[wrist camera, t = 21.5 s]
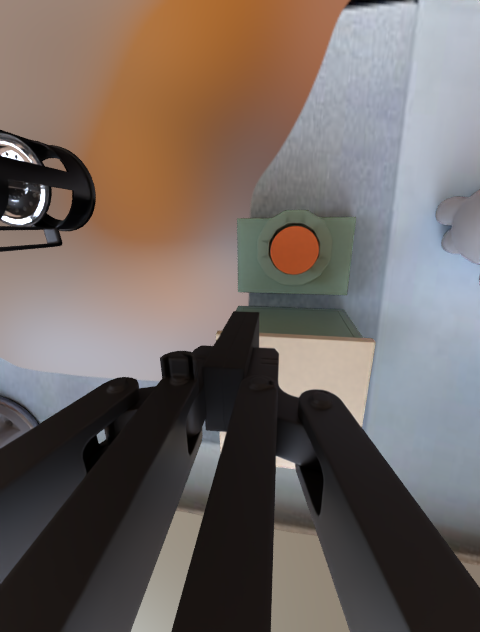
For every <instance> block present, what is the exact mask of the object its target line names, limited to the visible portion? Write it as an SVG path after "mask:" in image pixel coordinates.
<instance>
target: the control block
mask: <svg viewBox="0 0 480 632" xmlns="http://www.w3.org/2000/svg"><path fill="white" fill-rule="evenodd" d="M355 223H356V217H318V216H316V215H314V214H313V213H311V212H309V211H308V210H286V211H283V212H282V213H280V214H278V215H277V216H275V217H273V218H244V219H242V218H241V219H237V228H238V229H237V236H238V237H237V240H238V292H251V293H285V294H320V295H347V290H348V282H349V273H350V265H351V257H352V248H353V240H354V232H355ZM290 226H301V227H304V228H307V229H308V230H310V231H311V232H312V233H313V234H314V235H315V237H316V239H317V241H318V244H319V254H318V257H317V260H316V262H315V263H314V265H313V266H312V267H311V268H310V269H309V270H307V271H306V272H303V273H301V274H296V275H291V274H286V273H284V272H282V271H280V270H279V269H278V268H277V267H276V266H275V265H274V263H273V261H272V258H271V245H272V242H273V240H274V238H275V237H276V235H277V234H278V233H279V232H280V231H282V230H283V229H285V228H287V227H290Z"/></svg>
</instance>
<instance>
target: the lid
mask: <svg viewBox="0 0 480 632" xmlns="http://www.w3.org/2000/svg"><path fill="white" fill-rule="evenodd" d="M221 332H222V331H218V332H217V333H216V341H217V339H218V337H219V336H220V334H221ZM259 348H275V349H276V350H277V352H278V353H279V372H278V384H279V387H280V388H281V389H282V390H283V391H284V392H286V393H287V394H289V395H292V396H295V397H298V398H299V397H300V395H301V393H303V392H305V391H307V390H312V389H318V390H319V389H320V390H325V391H328V392H331V393H333V394H335V395H336V396H338V397H339V398H340V399H341V400H342V402H343V403H344V404H345V406H346V407H347V408H348V410H349V411H350V412H351V414H352V415H353V417H354V418H355V419H356V421H357V422H358V423H359V425H360V426H361V427H362V423H363V417H364V411H365V405H366V399H367V392H368V386H369V380H370V374H371V368H372V362H373V355H374V349H375V341H374V340H373V339H372V338H353V337H334V336H314V335H295V334H275V333H259ZM225 436H226V432H220V453H221V450H222V447H223V443H224V440H225ZM276 467H282V468H290V469H295V463H293V462H290V461H288V460H285V459H282V458H280V457H277V456H276Z"/></svg>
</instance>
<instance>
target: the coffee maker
mask: <svg viewBox="0 0 480 632" xmlns="http://www.w3.org/2000/svg"><path fill="white" fill-rule="evenodd" d="M236 311H239V312H259V333H275V334H295V335H314V336H334V337H353V338H363V337H362V335H361V334H360V332H359V331H358V329H357V328H356V327H355V325H354V324H353V322H352V321H351V319H350V318H349V317H348V315H347V314H346V312H345V311H344V310H339V309H312V308H284V307H257V306H238V308H237V310H236Z"/></svg>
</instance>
